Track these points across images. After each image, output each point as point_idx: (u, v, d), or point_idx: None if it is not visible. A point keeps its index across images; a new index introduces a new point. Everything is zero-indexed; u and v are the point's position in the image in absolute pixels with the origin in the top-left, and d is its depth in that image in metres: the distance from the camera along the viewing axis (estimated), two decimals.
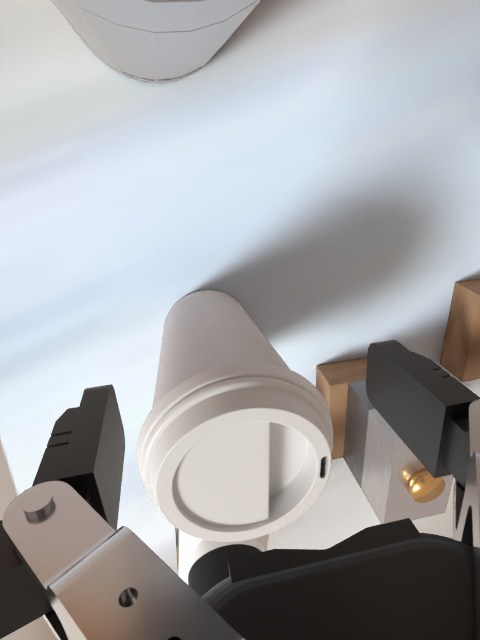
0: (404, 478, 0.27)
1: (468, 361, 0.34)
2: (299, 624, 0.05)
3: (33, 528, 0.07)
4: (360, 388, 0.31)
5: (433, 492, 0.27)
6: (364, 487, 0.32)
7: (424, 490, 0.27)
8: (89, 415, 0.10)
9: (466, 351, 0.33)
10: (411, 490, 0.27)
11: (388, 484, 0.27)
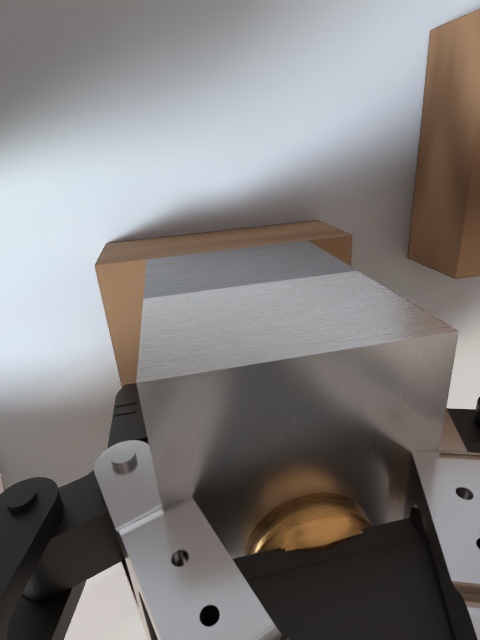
0: (232, 536, 0.07)
1: (469, 221, 0.13)
2: (299, 624, 0.05)
3: (124, 477, 0.08)
4: (165, 265, 0.11)
5: None
6: None
7: None
8: None
9: (462, 193, 0.13)
10: None
11: None
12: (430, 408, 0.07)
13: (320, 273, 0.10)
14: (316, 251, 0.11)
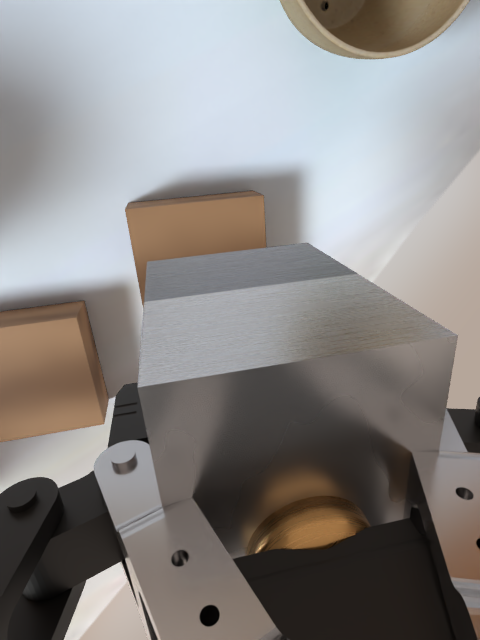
0: (233, 539, 0.07)
1: None
2: (299, 624, 0.05)
3: (124, 477, 0.08)
4: (165, 268, 0.11)
5: None
6: None
7: None
8: None
9: None
10: None
11: None
12: (430, 411, 0.07)
13: (320, 276, 0.10)
14: (316, 254, 0.11)
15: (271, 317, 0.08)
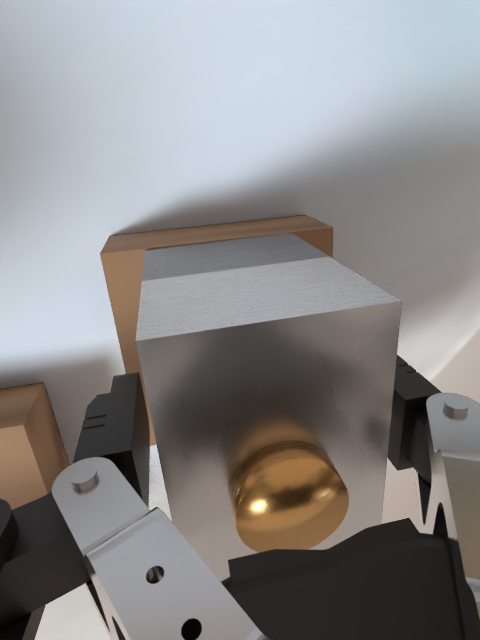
0: (217, 477, 0.09)
1: None
2: (299, 624, 0.05)
3: (82, 498, 0.07)
4: (161, 255, 0.12)
5: (312, 521, 0.08)
6: None
7: (276, 515, 0.08)
8: (121, 399, 0.10)
9: None
10: (235, 515, 0.08)
11: (167, 496, 0.09)
12: (382, 367, 0.08)
13: (297, 259, 0.11)
14: (296, 241, 0.13)
15: (250, 290, 0.09)
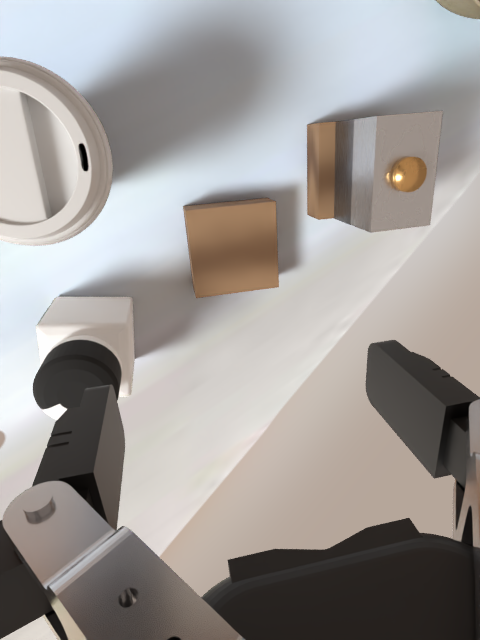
0: (387, 167, 0.29)
1: (321, 196, 0.36)
2: (299, 624, 0.05)
3: (33, 528, 0.07)
4: None
5: (415, 179, 0.29)
6: (353, 217, 0.33)
7: (406, 174, 0.29)
8: (89, 415, 0.10)
9: (317, 186, 0.36)
10: (394, 175, 0.29)
11: (373, 173, 0.29)
12: (436, 133, 0.29)
13: None
14: None
15: None
